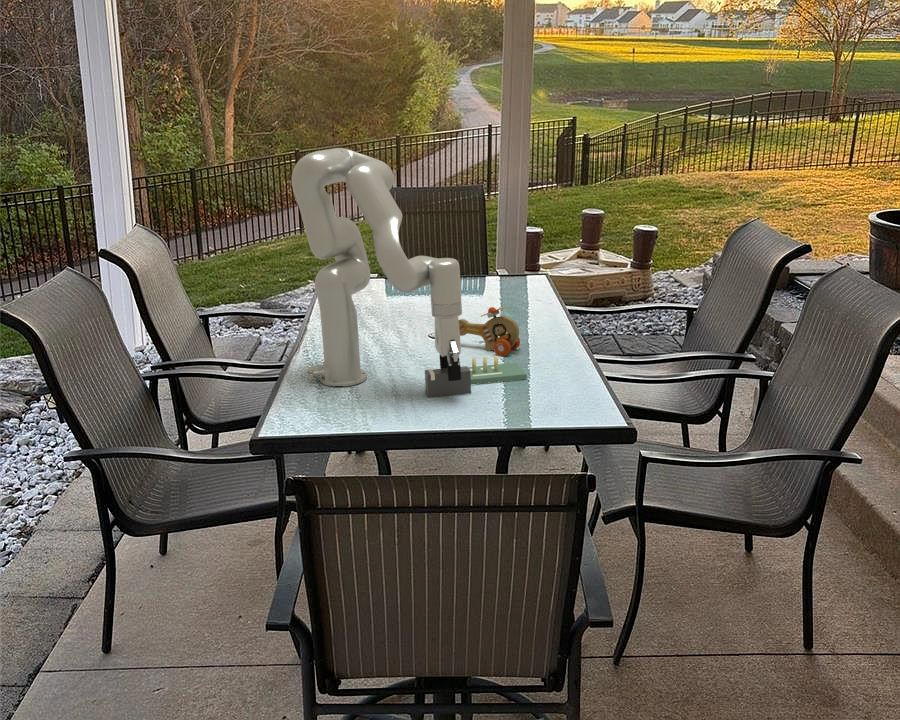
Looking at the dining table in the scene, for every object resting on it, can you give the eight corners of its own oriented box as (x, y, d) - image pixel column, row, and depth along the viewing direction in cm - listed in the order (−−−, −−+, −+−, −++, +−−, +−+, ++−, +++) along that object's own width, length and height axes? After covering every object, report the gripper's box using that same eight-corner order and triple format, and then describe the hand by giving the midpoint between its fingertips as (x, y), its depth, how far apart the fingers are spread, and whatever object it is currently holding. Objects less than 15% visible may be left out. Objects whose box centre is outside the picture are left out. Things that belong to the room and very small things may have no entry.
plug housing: (428, 397, 220) (427, 374, 218) (425, 392, 224) (424, 369, 222) (471, 393, 222) (470, 370, 220) (467, 388, 226) (467, 365, 224)
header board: (452, 386, 227) (452, 366, 225) (444, 374, 236) (444, 355, 235) (526, 379, 231) (526, 359, 229) (516, 367, 240) (516, 348, 238)
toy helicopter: (511, 358, 248) (511, 311, 244) (448, 349, 258) (447, 303, 254) (524, 350, 255) (523, 304, 251) (461, 341, 265) (460, 297, 261)
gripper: (425, 302, 223) (429, 366, 228) (438, 318, 207) (442, 386, 212) (454, 299, 225) (457, 362, 230) (469, 315, 209) (472, 383, 214)
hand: (450, 374), depth 221 cm, fingers open, 9 cm apart
